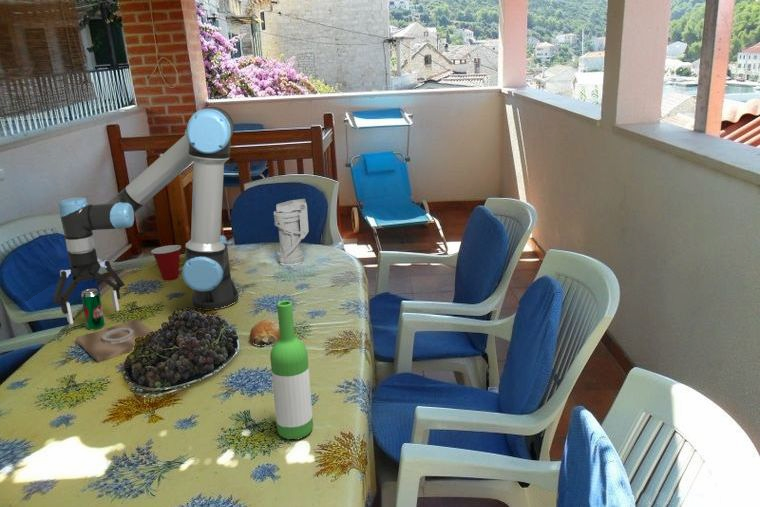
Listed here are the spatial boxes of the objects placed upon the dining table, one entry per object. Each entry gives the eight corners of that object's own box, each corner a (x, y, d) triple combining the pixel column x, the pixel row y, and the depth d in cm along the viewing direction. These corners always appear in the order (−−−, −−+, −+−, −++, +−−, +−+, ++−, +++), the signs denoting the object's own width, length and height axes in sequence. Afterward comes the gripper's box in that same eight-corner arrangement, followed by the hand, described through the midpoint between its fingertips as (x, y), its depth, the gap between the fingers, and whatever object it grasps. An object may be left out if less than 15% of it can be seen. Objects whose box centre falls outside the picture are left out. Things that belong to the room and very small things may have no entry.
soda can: (98, 331, 183) (91, 294, 179) (83, 330, 184) (76, 293, 180) (108, 324, 187) (102, 288, 184) (94, 323, 188) (87, 287, 185)
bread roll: (289, 349, 175) (294, 322, 176) (269, 349, 166) (274, 320, 166) (261, 344, 179) (266, 317, 180) (240, 343, 170) (245, 315, 171)
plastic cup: (173, 271, 234) (169, 242, 231) (191, 276, 228) (187, 246, 224) (149, 279, 226) (144, 249, 222) (166, 284, 220) (162, 253, 216)
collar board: (137, 323, 187) (136, 316, 186) (162, 341, 175) (160, 333, 174) (76, 342, 176) (74, 334, 175) (98, 362, 163) (96, 354, 162)
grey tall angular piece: (278, 267, 235) (272, 205, 227) (277, 259, 245) (272, 199, 237) (311, 264, 237) (307, 202, 229) (309, 256, 247) (305, 197, 239)
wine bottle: (307, 443, 125) (297, 311, 116) (272, 440, 127) (259, 309, 118) (317, 422, 133) (308, 296, 123) (284, 419, 134) (272, 294, 125)
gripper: (119, 238, 189) (129, 301, 195) (31, 257, 173) (46, 324, 179) (128, 243, 183) (139, 307, 190) (39, 262, 167) (54, 332, 174)
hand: (94, 315), depth 184 cm, fingers open, 13 cm apart
